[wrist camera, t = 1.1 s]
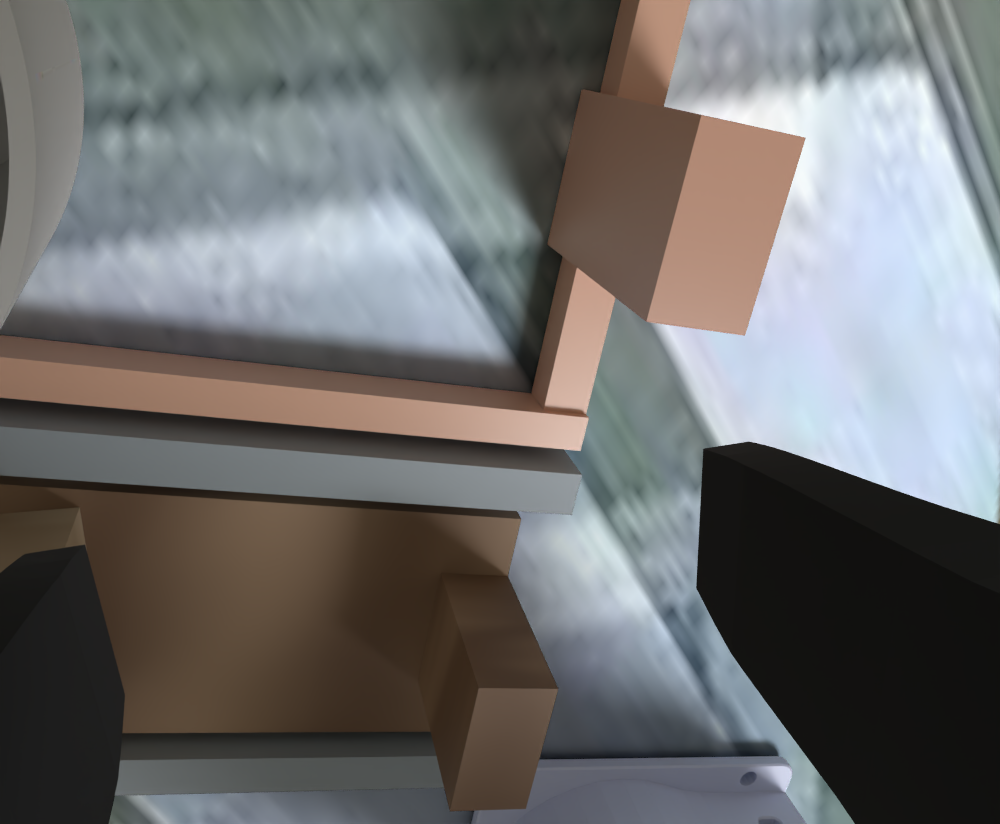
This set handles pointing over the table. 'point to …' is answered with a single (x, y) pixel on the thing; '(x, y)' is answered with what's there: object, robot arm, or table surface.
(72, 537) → the beech cube
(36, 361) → the cup sled
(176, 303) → the table surface
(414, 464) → the lane frame
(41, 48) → the cup
